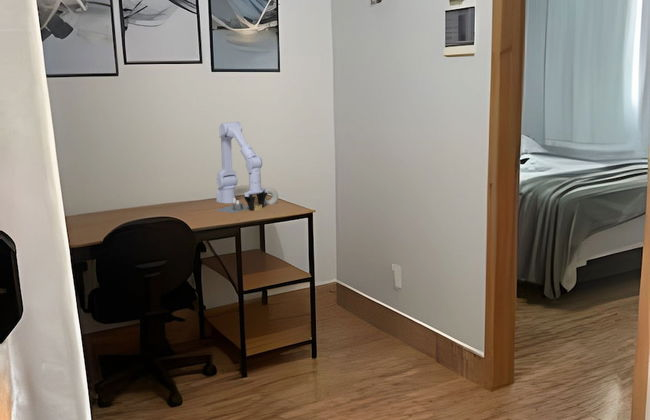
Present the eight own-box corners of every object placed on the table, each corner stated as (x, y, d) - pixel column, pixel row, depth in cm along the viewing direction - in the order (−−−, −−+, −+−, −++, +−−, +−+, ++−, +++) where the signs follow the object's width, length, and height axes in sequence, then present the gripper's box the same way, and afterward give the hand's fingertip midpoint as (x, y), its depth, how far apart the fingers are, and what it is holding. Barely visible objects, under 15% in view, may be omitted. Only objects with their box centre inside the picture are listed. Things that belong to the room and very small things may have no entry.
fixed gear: (230, 210, 311) (230, 204, 310) (236, 208, 316) (235, 202, 315) (240, 210, 309) (239, 204, 308) (245, 208, 314) (245, 202, 313)
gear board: (214, 213, 312) (213, 201, 310) (235, 207, 325) (234, 195, 324) (234, 215, 305) (233, 203, 304) (255, 209, 318) (254, 197, 317)
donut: (277, 205, 328) (276, 186, 326) (279, 206, 324) (278, 187, 322) (258, 206, 324) (257, 187, 322) (260, 208, 321) (259, 188, 319)
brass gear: (248, 212, 312) (248, 205, 311) (255, 210, 316) (255, 203, 316) (257, 213, 309) (257, 206, 308) (264, 211, 314) (264, 204, 313)
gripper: (252, 184, 301) (253, 212, 304) (270, 179, 313) (271, 206, 316) (240, 183, 305) (242, 210, 308) (259, 178, 317) (260, 205, 320)
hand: (256, 208), depth 312 cm, fingers open, 7 cm apart
